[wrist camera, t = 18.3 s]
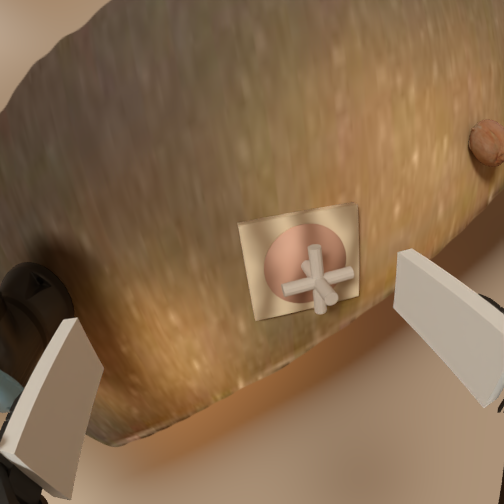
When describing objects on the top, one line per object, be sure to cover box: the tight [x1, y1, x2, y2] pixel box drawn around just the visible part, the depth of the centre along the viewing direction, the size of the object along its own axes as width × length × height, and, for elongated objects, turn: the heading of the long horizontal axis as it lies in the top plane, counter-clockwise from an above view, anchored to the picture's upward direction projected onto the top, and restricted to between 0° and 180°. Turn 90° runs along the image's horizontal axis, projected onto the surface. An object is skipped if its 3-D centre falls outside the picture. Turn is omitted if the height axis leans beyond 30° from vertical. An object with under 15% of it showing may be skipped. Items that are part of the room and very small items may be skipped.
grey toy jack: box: [281, 244, 354, 314], centre depth 40 cm, size 10×10×10 cm
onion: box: [468, 120, 504, 167], centre depth 39 cm, size 9×9×10 cm
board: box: [237, 202, 359, 321], centre depth 46 cm, size 18×16×2 cm
